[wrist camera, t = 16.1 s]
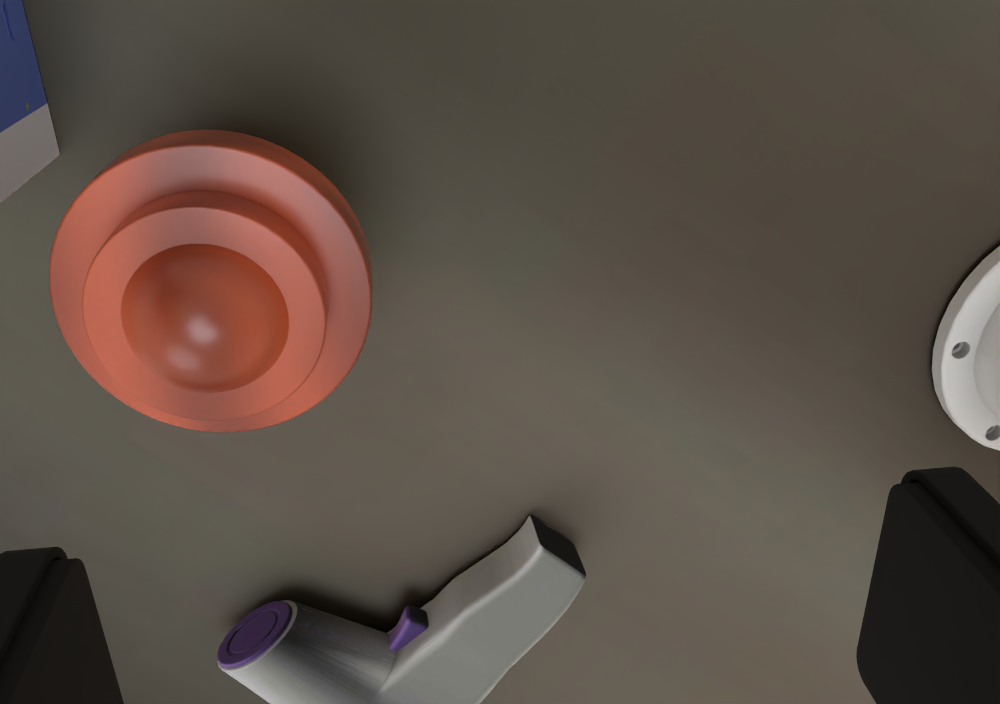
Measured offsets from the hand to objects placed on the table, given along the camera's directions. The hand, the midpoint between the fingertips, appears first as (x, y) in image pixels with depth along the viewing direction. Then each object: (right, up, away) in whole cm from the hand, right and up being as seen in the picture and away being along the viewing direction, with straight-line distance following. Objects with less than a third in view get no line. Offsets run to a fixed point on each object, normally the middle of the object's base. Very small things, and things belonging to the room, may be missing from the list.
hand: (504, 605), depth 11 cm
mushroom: (-10, +8, +26) cm, 29 cm away
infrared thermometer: (-5, -9, +36) cm, 37 cm away
